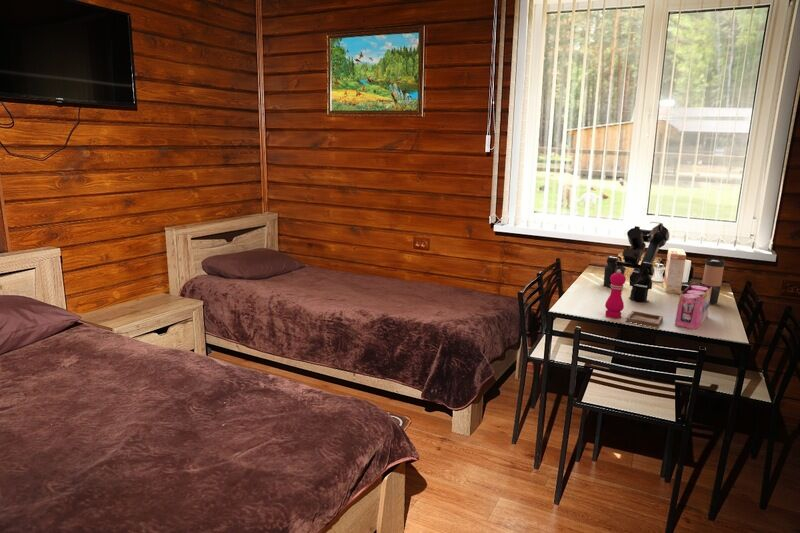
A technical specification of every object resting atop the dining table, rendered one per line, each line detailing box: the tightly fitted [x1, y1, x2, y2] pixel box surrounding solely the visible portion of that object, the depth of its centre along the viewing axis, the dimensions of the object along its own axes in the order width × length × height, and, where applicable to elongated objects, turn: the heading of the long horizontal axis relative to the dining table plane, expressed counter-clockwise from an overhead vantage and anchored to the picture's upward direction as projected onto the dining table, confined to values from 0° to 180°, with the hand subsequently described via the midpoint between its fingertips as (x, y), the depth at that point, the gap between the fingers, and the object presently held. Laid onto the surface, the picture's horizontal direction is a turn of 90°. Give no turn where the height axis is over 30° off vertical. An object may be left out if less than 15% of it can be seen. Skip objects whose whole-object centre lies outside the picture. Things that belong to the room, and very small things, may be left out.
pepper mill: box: [604, 269, 627, 319], centre depth 231 cm, size 7×7×20 cm
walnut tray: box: [625, 310, 664, 329], centre depth 227 cm, size 12×12×2 cm
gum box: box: [674, 282, 712, 330], centre depth 227 cm, size 24×8×14 cm, turn 141°
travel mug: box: [701, 257, 726, 305], centre depth 255 cm, size 8×8×20 cm
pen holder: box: [603, 264, 626, 288], centre depth 279 cm, size 9×9×10 cm
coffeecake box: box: [662, 247, 687, 295], centre depth 276 cm, size 15×7×20 cm, turn 159°
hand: (623, 281), depth 236 cm, fingers open, 9 cm apart
